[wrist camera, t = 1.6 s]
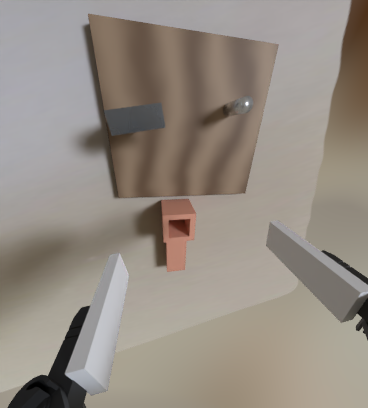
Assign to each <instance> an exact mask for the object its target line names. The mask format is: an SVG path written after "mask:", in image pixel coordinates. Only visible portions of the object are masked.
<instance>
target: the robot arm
mask: <svg viewBox="0 0 368 408" xmlns="http://www.w3.org/2000/svg"><path fill="white" fill-rule="evenodd" d="M266 246H267V247H268V248H269V249H270V250H271V251H272V252H273V253H274V254H275V255H276V256H277V257H278V258H279V259H280V260H281V261H282V262H283V263H284V265H285V266H286V267H287V268H288V269H289V270H290V271H291V272H292V273H293V274H294V275H295V276H296V277H297V278H298V279H299V280H300V281H301V282H302V283H303V284H304V285H305V286H306V287H307V288H308V289H309V290H310V291H311V292H312V293H313V294H314V295H315V296H316V297H317V298H318V299H319V300H320V301H321V302H322V304H323V305H325V307H326V308H327V309H328V310H329V311H330V312H331V313H332V314H333V315H334V316H335V317H336V318H337V319H338V320H339V321H340V322H341V323H342V322H346V321H349V320H352V319H353V318H354V317H355V316H356V314H359V315H360V316H361V317H362V319H361V320H360V322H359V323H358V324H357V326H356V330H357V331H359V330H360V329H361V328H362V327H363V329H364V331H363V333H365V334H366V337H367V340H368V278H367V277H365V276H364V275H362V274H361V273H359V272H358V271H356V270H355V269H354V268H352V267H350V266H349V265H348V264H346V263H344V262H343V261H342V260H340V259H339V258H338V257H336V256H335V255H333V254H331V253H328V252H326V251H320V250H318V249H317V248H316V247H314V246H313V245H311V244H310V243H309V242H307V241H306V240H305V239H303V238H302V237H300V236H299V235H298V234H296V233H295V232H293V231H292V230H291V229H289V228H288V227H286V226H285V225H284V224H282V223H281V222H280V221H278V220H277V221H272V222H270V225H269V231H268V237H267V243H266ZM128 279H129V274H128V272H127V269H126V267H125V265H124V262H123V260H122V257H121V255H120V253H116V254H111V255H110V256H109V258H108V261H107V263H106V266H105V269H104V271H103V274H102V277H101V279H100V282H99V285H98V287H97V290H96V292H95V295H94V298H93V300H92V303H91V305H90V306H86V307H82V308H81V309H80V310H79V312H78V313H77V314H76V316H75V317H74V318H73V321H72V323H71V325H70V327H69V331H68V332H67V334H66V336H65V340H64V341H63V343H62V345H61V348H60V350H59V352H58V354H57V357H56V359H55V361H54V363H53V366H52V368H51V370H50V372H49V375H48V376H46V375H40V376H37V377H35V378H33V379H32V380H30V381H29V382H28V383H26V384H25V385H24V386H23V387H22V388H21V390H20V391H19V392H18V393H17V394H16V395H15V397H14V398H13V400H12V401H11V403H10V404H9V406H8V408H86V406H85V404H84V400H85V396H86V392H87V393H89V394H90V395H95V394H99V393H102V392H106V391H107V390H108V385H109V380H110V375H111V370H112V364H113V359H114V354H115V348H116V343H117V338H118V332H119V327H120V322H121V317H122V311H123V306H124V301H125V295H126V290H127V285H128Z"/></svg>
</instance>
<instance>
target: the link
mask: <svg viewBox="0 0 368 408" xmlns="http://www.w3.org/2000/svg"><path fill="white" fill-rule="evenodd" d="M161 208H162V229H163V241H164V243H166V264H167V272H170V271H178V270H185V258H186V241H189V240H194V234H195V222H196V212H195V210H194V209H193V207H192V205H191V203H190V201H189V199H176V200H161Z"/></svg>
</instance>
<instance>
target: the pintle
mask: <svg viewBox="0 0 368 408" xmlns="http://www.w3.org/2000/svg"><path fill="white" fill-rule="evenodd" d="M252 107H253V99H252V98H251V97H250V96H245V97H242V98H239V99H237V100H234V101H232V102H229V103H227V104H225V106H224V108H223V113H224V115H225V116H233V115H238V114H243V113H248V112H249V111H250V110H251V109H252Z"/></svg>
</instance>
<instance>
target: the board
mask: <svg viewBox="0 0 368 408" xmlns="http://www.w3.org/2000/svg"><path fill="white" fill-rule="evenodd" d="M88 17H89V23H90V29H91V35H92V41H93V47H94V53H95V59H96V65H97V71H98V77H99V83H100V89H101V95H102V101H103V107H104V110H110V109H118V108H125V107H132V106H139V105H147V104H154V103H161V104H162V110H163V116H164V121H165V127H166V128H160V129H154V130H147V131H141V132H136V133H130V134H124V135H115V136H112V135H111V132H110V129H109V126H108V123H107V120H106V125H107V131H108V136H109V142H110V148H111V154H112V160H113V166H114V172H115V178H116V184H117V190H118V196H119V198H127V197H155V196H182V195H210V194H237V193H245V191H246V187H247V182H248V178H249V174H250V169H251V165H252V160H253V156H254V151H255V147H256V143H257V138H258V134H259V129H260V125H261V121H262V116H263V112H264V107H265V103H266V98H267V94H268V90H269V85H270V81H271V76H272V72H273V67H274V63H275V59H276V54H277V50H278V45H279V44H273V43H267V42H261V41H255V40H248V39H242V38H236V37H230V36H223V35H217V34H211V33H205V32H199V31H192V30H186V29H180V28H174V27H167V26H161V25H155V24H149V23H143V22H136V21H130V20H124V19H118V18H112V17H105V16H99V15H93V14H88ZM245 96H250V97H251V98H252V99H253V107H252V109H251V110H250V111H249V112H248V113H243V114H238V115H233V116H225V115H224V113H223V108H224V106H225V104H227V103H229V102H232V101H234V100H237V99H239V98H242V97H245ZM105 119H106V117H105Z"/></svg>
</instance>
